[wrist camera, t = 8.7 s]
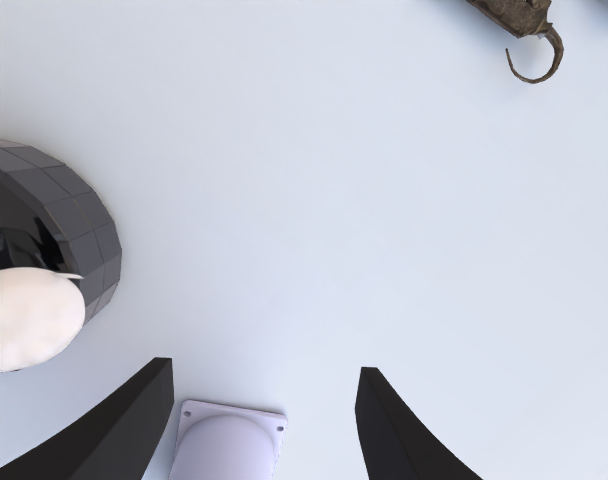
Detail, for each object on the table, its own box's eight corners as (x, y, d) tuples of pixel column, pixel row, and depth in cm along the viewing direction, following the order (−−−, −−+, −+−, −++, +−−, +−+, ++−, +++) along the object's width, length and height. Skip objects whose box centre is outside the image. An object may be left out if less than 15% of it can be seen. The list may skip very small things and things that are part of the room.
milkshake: (81, 230, 21) (131, 296, 14) (23, 301, 20) (47, 408, 13) (-2, 187, 17) (12, 248, 11) (-78, 270, 16) (-113, 393, 10)
